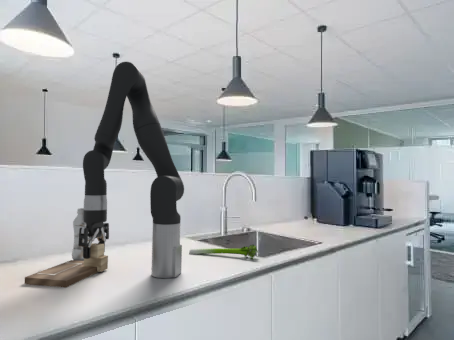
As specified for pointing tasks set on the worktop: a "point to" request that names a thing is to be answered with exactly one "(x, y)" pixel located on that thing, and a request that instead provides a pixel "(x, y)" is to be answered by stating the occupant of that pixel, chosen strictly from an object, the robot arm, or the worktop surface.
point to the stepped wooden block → (97, 258)
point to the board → (62, 274)
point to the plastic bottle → (77, 224)
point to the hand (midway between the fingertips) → (94, 255)
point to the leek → (227, 251)
